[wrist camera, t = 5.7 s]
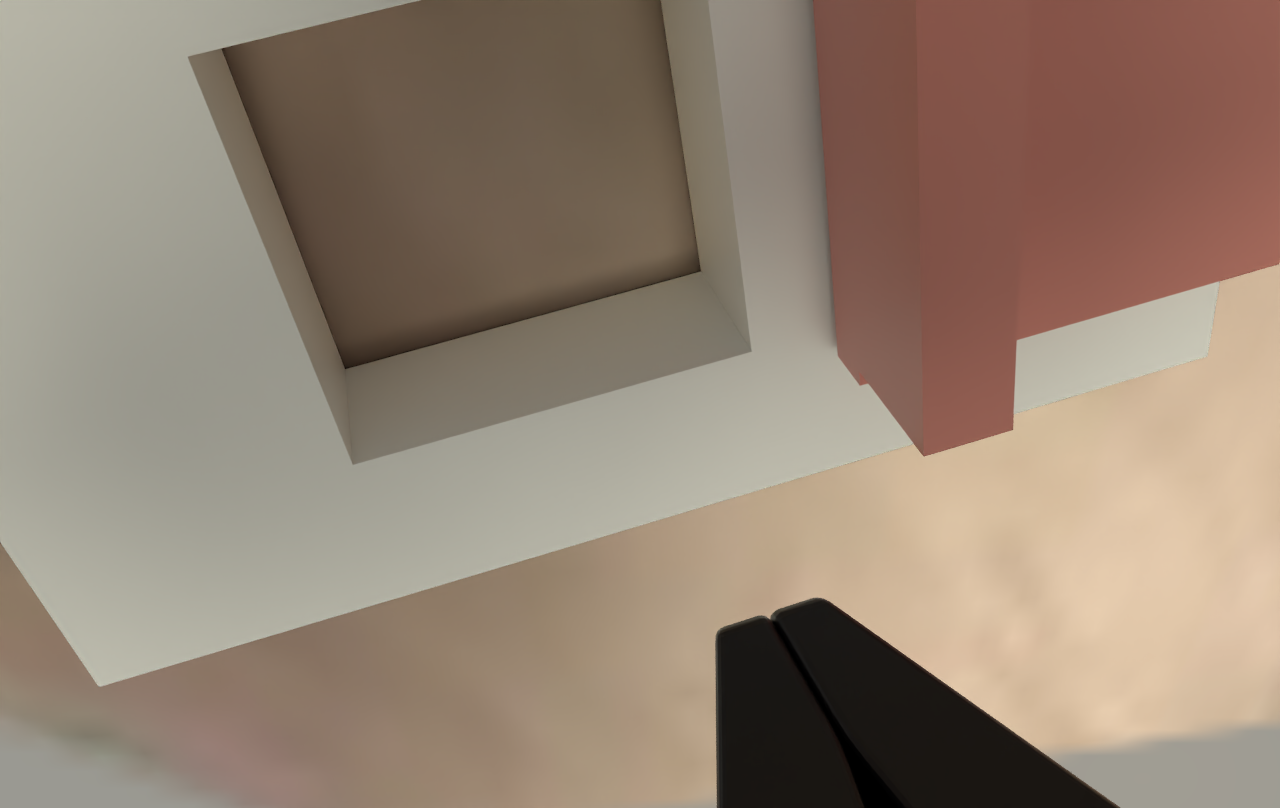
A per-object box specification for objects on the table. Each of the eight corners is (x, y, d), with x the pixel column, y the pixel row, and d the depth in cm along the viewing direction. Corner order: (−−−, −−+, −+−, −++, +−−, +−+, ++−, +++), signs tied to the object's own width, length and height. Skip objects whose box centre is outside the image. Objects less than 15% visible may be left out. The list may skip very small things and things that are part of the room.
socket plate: (1197, -470, 14) (1345, -482, 12) (1119, 285, 21) (1207, 356, 19) (-320, -147, 12) (-437, -101, 10) (118, 573, 19) (99, 687, 17)
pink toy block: (1326, -246, 13) (1534, -218, 11) (1242, 239, 17) (1384, 333, 15) (804, -121, 13) (915, -64, 11) (837, 355, 17) (923, 471, 14)
